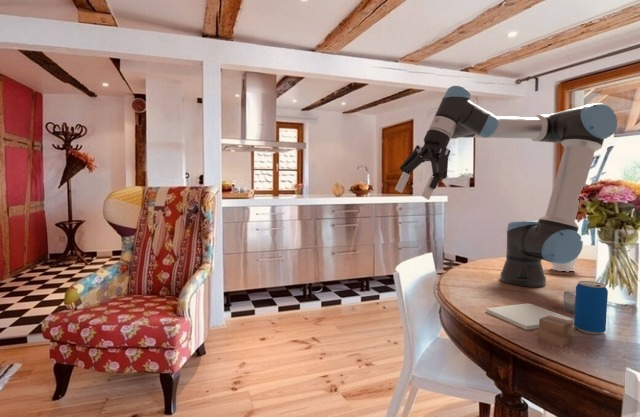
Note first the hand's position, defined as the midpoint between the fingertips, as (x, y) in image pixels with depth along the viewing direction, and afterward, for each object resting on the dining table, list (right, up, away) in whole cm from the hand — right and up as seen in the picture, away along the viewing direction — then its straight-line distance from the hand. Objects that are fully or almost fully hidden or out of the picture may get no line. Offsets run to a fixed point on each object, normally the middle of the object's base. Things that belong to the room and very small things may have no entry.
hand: (410, 194), depth 118 cm
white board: (+29, -35, -15) cm, 47 cm away
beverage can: (+39, -36, -24) cm, 58 cm away
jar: (+76, -31, +43) cm, 93 cm away
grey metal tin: (+46, -34, -9) cm, 58 cm away
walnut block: (+26, -36, -30) cm, 54 cm away
